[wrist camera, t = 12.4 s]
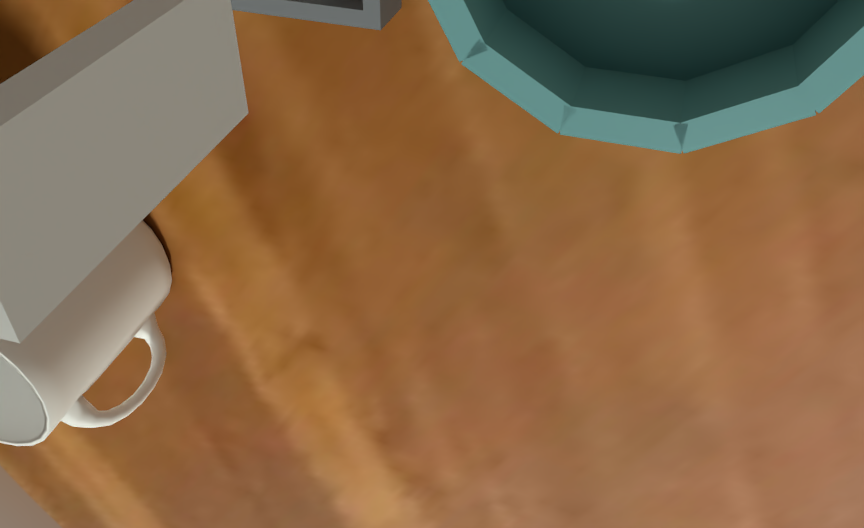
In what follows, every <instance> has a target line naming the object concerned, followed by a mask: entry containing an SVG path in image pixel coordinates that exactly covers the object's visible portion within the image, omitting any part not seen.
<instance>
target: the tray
mask: <svg viewBox="0 0 864 528" xmlns="http://www.w3.org/2000/svg"><path fill="white" fill-rule="evenodd" d="M231 5H232V10H237V11H244V12H252V13H259V14H266V15H274V16H281V17H288V18H295V19H303V20H310V21H317V22H325V23H332V24H339V25H347V26H354V27H361V28H368V29H376V30H381V29H382V28H383V27H384V26H385V25H386V24H387V23H388V22H389V21H390V20H391V18H392V17H393V16H394V15H395V14H396V13H397V12H398V11H399V10H400V9H401V0H231Z"/></svg>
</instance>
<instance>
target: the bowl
mask: <svg viewBox="0 0 864 528" xmlns="http://www.w3.org/2000/svg"><path fill="white" fill-rule="evenodd" d="M428 1H429V3H430V5H431V7H432V9H433V11H434V13H435V15H436V17H437V19H438V21H439V23H440V25H441V27H442V29H443V31H444V32H445V34H446V36H447V38H448V40H449V42H450V44H451V46H452V48H453V50H454V52H455V54H456V56H457V58H458V60H459V62H460V61H463V62H462V65H463V66H465V67H466V68H468V69H469V70H470V71H472V72H473V73H475V74H476V75H477V76H479V77H480V78H481V79H483V80H484V81H486V82H487V83H488V84H490V85H491V86H493V87H494V88H495V89H497V90H498V91H499V92H501V93H502V94H504V95H505V96H506V97H508V98H509V99H511V100H512V101H513V102H515V103H516V104H517V105H519V106H520V107H522V108H523V109H524V110H526V111H527V112H529V113H530V114H531V115H533V116H534V117H535V118H537V119H538V120H540V121H541V122H542V123H544V124H545V125H547V126H548V127H549V128H551V129H552V130H554V131H555V132H556V133H558V132H559V131H560V134H561V135H567V136H573V137H579V138H586V139H592V140H598V141H604V142H611V143H617V144H623V145H630V146H636V147H642V148H648V149H655V150H661V151H667V152H673V153H680V154H681V151H682V150H683V153H687V152H691V151H694V150H698V149H701V148H704V147H708V146H711V145H715V144H718V143H722V142H725V141H728V140H732V139H735V138H739V137H742V136H746V135H749V134H752V133H756V132H759V131H763V130H766V129H770V128H773V127H776V126H780V125H783V124H787V123H790V122H794V121H797V120H800V119H804V118H807V117H811V116H814V115H816V111H817V112H818V113H820V112H821V111H822V110H824V109H825V108H826V107H827V106H828V105H829V104H831V103H832V102H833V101H834V100H835V99H836V98H837V97H839V96H840V95H841V94H842V93H843V92H844V91H846V90H847V89H848V88H849V87H850V86H851V85H853V84H854V83H855V82H856V81H857V80H858V79H860V78H861V77H862V76H863V75H864V0H428Z"/></svg>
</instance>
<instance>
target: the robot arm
mask: <svg viewBox="0 0 864 528" xmlns="http://www.w3.org/2000/svg"><path fill="white" fill-rule="evenodd" d="M247 114H248V108H247V101H246V95H245V89H244V82H243V76H242V69H241V63H240V57H239V50H238V44H237V37H236V31H235V25H234V18H233V12H232V5H231V0H133V1H132V2H130V3H129V4H127V5H126V6H124V7H122V8H121V9H119V10H118V11H116V12H114V13H113V14H111V15H110V16H108V17H106V18H105V19H103V20H102V21H100V22H98V23H97V24H95V25H94V26H92V27H90V28H89V29H87V30H86V31H84V32H82V33H81V34H79V35H78V36H76V37H74V38H73V39H71V40H70V41H68V42H67V43H65V44H63V45H62V46H60V47H59V48H57V49H55V50H54V51H52V52H51V53H49V54H47V55H46V56H44V57H43V58H41V59H39V60H38V61H36V62H35V63H33V64H31V65H30V66H28V67H27V68H25V69H23V70H22V71H20V72H19V73H17V74H15V75H14V76H12V77H11V78H9V79H7V80H6V81H4V82H3V83H1V84H0V339H4V340H8V341H12V342H16V343H21V342H22V341H23V340H24V339H25V338H26V337H27V336H28V335H29V334H30V333H31V332H32V331H33V330H34V329H35V328H36V327H37V326H38V325H39V324H40V323H41V322H42V321H43V320H44V319H45V318H46V317H47V316H48V315H49V314H50V313H51V312H52V311H53V310H54V309H55V308H56V307H57V306H58V305H59V304H60V303H61V302H62V301H63V300H64V299H65V298H66V297H67V296H68V295H69V294H70V293H71V292H72V291H73V290H74V289H75V288H76V287H77V286H78V285H79V284H80V283H81V282H82V281H83V280H84V279H85V278H86V277H87V276H88V275H89V273H90V272H91V271H92V270H93V269H94V268H95V267H96V266H97V265H98V264H99V263H100V262H101V261H102V260H103V259H104V258H105V257H106V256H107V255H108V254H109V253H110V252H111V251H112V250H113V249H114V248H115V247H116V246H117V245H118V244H119V243H120V242H121V241H122V240H123V239H124V238H125V237H126V236H127V235H128V234H129V233H130V232H131V231H132V230H133V229H134V228H135V227H136V226H137V225H138V224H139V223H140V222H141V221H142V220H143V219H144V218H145V217H146V216H147V215H148V214H149V213H150V212H151V211H152V210H153V209H154V208H155V207H156V206H157V205H158V204H159V203H160V202H161V201H162V200H163V199H164V198H165V197H166V196H167V195H168V194H169V193H170V192H171V191H172V190H173V189H174V188H175V187H176V186H177V185H178V184H179V183H180V182H181V181H182V180H183V179H184V178H185V177H186V176H187V175H188V174H189V173H190V172H191V171H192V170H193V168H194V167H195V166H196V165H197V164H198V163H199V162H200V161H201V160H202V159H203V158H204V157H205V156H206V155H207V154H208V153H209V152H210V151H211V150H212V149H213V148H214V147H215V146H216V145H217V144H218V143H219V142H220V141H221V140H222V139H223V138H224V137H225V136H226V135H227V134H228V133H229V132H230V131H231V130H232V129H233V128H234V127H235V126H236V125H237V124H238V123H239V122H240V121H241V120H242V119H243V118H244V117H245V116H246V115H247Z"/></svg>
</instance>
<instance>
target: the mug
mask: <svg viewBox="0 0 864 528" xmlns="http://www.w3.org/2000/svg"><path fill="white" fill-rule="evenodd" d="M171 282H172V277H171V268H170V264H169V261H168V258H167V256H166V253H165V251H164V249H163V246H162V244H161V242H160V241H159V239H158V238H157V236H156V235H155V233H154V232H153V230H152V229H151V228H150V227H149V226H148V225H147V224H146V223H145V222H144V221H143V220H142V221H141V222H140V223H139V224H138V225H137V226H136V227H135V228H134V229H133V230H132V231H131V232H130V233H129V234H128V235H127V236H126V237H125V238H124V239H123V240H122V241H121V242H120V243H119V244H118V245H117V246H116V247H115V248H114V249H113V250H112V251H111V252H110V253H109V254H108V255H107V256H106V257H105V258H104V259H103V260H102V261H101V262H100V263H99V264H98V265H97V266H96V267H95V268H94V269H93V270H92V271H91V272H90V273H89V275H88V276H87V277H86V278H85V279H84V280H83V281H82V282H81V283H80V284H79V285H78V286H77V287H76V288H75V289H74V290H73V291H72V292H71V293H70V294H69V295H68V296H67V297H66V298H65V299H64V300H63V301H62V302H61V303H60V304H59V305H58V306H57V307H56V308H55V309H54V310H53V311H52V312H51V313H50V314H49V315H48V316H47V317H46V318H45V319H44V320H43V321H42V322H41V323H40V324H39V325H38V326H37V327H36V328H35V329H34V330H33V331H32V332H31V333H30V334H29V335H28V336H27V337H26V338H25V339H24V340H23V341H22V342H21V343H16V342H12V341H8V340H4V339H0V443H4V444H10V445H15V446H33V445H35V444H37V443H40V442H42V441H44V440H45V439H46V438H47V436H48V435H49V434H50V433H51V432H52V431H53V430H54V428H55V427H56V426H57V425H58V423H59V422H60V421H62V422H64V423H66V424H68V425H70V426H73V427H86V428H95V427H102V426H108V425H112V424H114V423H116V422H117V421H119V420H121V419H123V418H125V417H127V416H128V415H129V414H130V413H132V412H133V411H134V410H135V409H136V408H137V407H138V406H139V405H141V404H142V403H143V401H144V400H145V399H146V398H147V396H148V395H149V394H150V393H151V391H152V390H153V389H154V387H155V385H156V383H157V381H158V379H159V378H160V376H161V374H162V371H163V367H164V363H165V358H166V346H165V339H164V337H163V335H162V333H161V331H160V329H159V327H158V325H157V321H156V317H155V313H154V312H155V311H156V310H157V309H158V308H159V307H160V305H161V304H162V302H163V301H164V300H165V298H166V297H167V295H168V294H169V292H170V287H171ZM133 337H137V338H143V339H145V340H146V342H147V343H148V345H149V346H150V348H151V353H152V361H151V366H150V369H149V371H148V373H147V375H146V377H145V379H144V382H143V383H142V384H141V385H140V387H139V388H138V389H137V390H136V392H135V393H134V394H133V395H132V396H131V397H129V398H128V399H127V400H126V401H124V402H123V403H122V404H121V405H119V406H116V407H114V408H112V409H110V410H106V411H98V410H97V409H96V408H95V407H94V406H93V405H92V404H91V403H90V402H89V401H87V400H86V399H85V398H84V397H83V396H82V394H83V393H85V392H86V391H87V390H88V389H89V388H90V387H91V386H92V385H93V383H94V382H95V381H96V380H97V379H98V378H99V377H100V376H101V374H102V373H103V372H104V371H105V370H106V369H107V367H108V366H109V365H110V364H111V363H112V362H113V361H114V359H115V358H116V357H117V356H118V355H119V354H120V353H121V351H122V350H123V349H124V348H125V347H126V346H127V344H128V343H129V342H130V341H131V340H132V338H133Z"/></svg>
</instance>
